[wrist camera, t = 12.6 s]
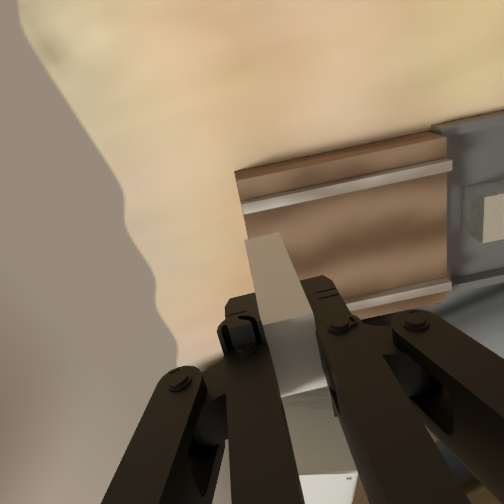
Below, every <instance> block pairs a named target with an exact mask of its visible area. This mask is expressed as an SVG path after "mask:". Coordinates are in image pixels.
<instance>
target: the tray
mask: <svg viewBox="0 0 504 504" xmlns="http://www.w3.org/2000/svg"><path fill="white" fill-rule="evenodd" d="M431 133H434V134H438V135H442V136H445V137H447V158H448V159H450V160H452V171H448V172H447V278H448V279H449V280H450V281H451V282H452V290H449V291H447V294H451V293H455V292H460V291H465V290H469V289H474V288H479V287H483V286H488V285H493V284H497V283H502V282H504V239H502V240H497V241H492V242H487V243H481V242H480V241H478V240H476V239H475V238H473V237H472V236H470V235H469V234H467V233H465V232H464V231H462V230H461V229H462V187H466V186H470V185H475V184H480V183H485V182H490V181H495V180H500V179H504V110H502V111H497V112H493V113H488V114H483V115H478V116H474V117H469V118H464V119H459V120H454V121H450V122H445V123H440V124H435V125H431Z"/></svg>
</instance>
